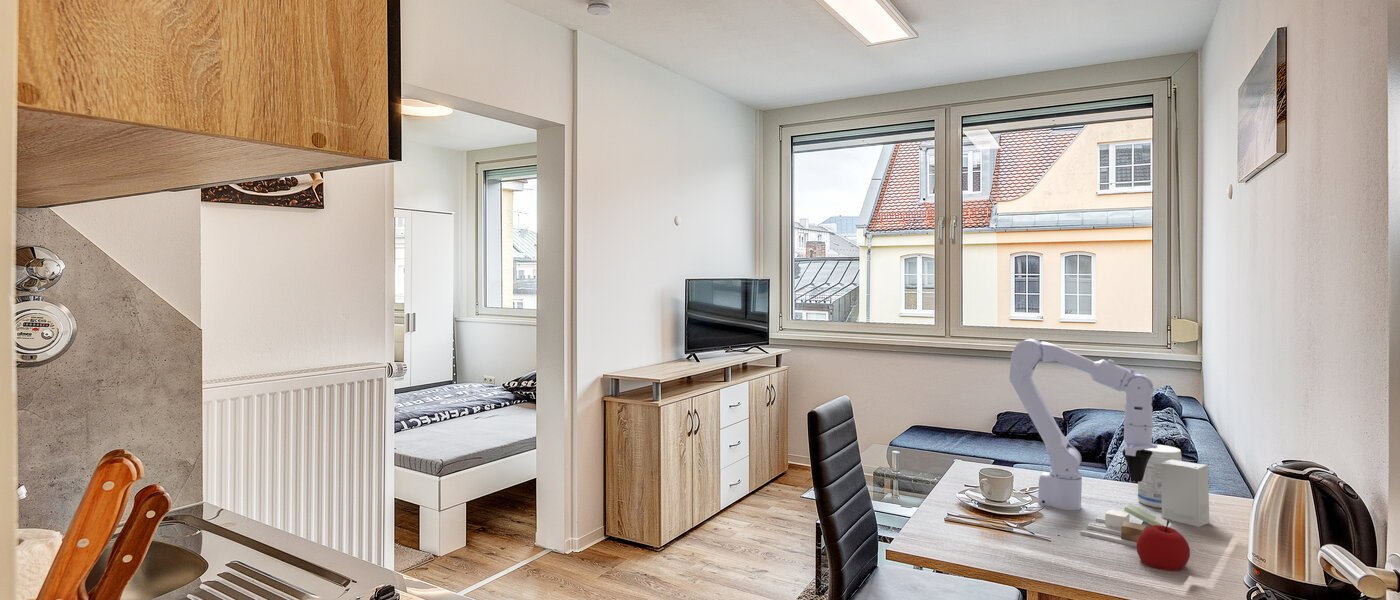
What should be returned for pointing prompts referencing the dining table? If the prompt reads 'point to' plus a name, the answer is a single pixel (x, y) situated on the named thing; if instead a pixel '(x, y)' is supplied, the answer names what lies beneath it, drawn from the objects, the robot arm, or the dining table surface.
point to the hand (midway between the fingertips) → (1136, 480)
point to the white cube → (1116, 518)
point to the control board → (1108, 530)
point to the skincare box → (1185, 492)
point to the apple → (1163, 548)
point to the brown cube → (1131, 531)
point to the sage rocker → (1145, 516)
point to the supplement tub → (1155, 475)
